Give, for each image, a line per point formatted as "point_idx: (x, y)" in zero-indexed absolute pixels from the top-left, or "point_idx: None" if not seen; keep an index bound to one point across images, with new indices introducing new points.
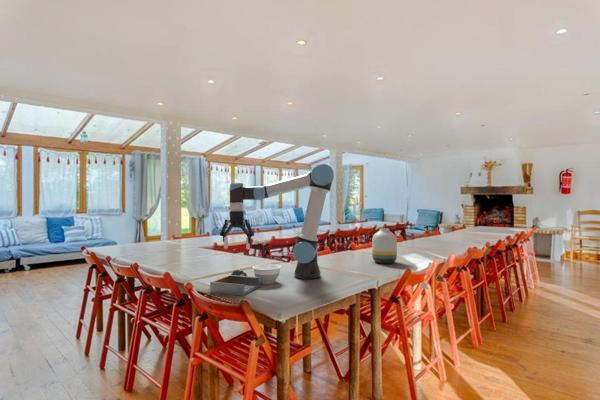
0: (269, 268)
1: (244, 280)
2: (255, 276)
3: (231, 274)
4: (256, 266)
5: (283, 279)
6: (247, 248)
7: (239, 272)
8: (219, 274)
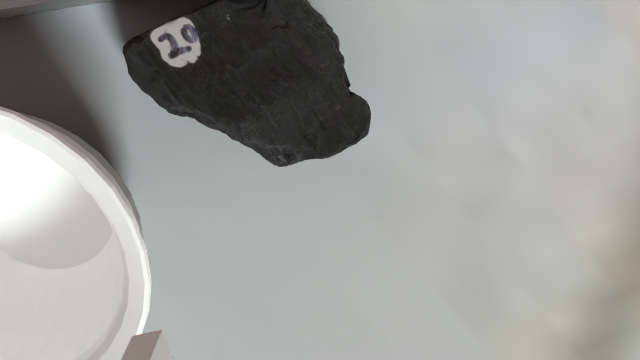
0: (60, 356)
1: None
2: (80, 138)
3: (318, 18)
4: (127, 269)
5: None
6: (126, 350)
7: (246, 82)
8: (635, 243)
